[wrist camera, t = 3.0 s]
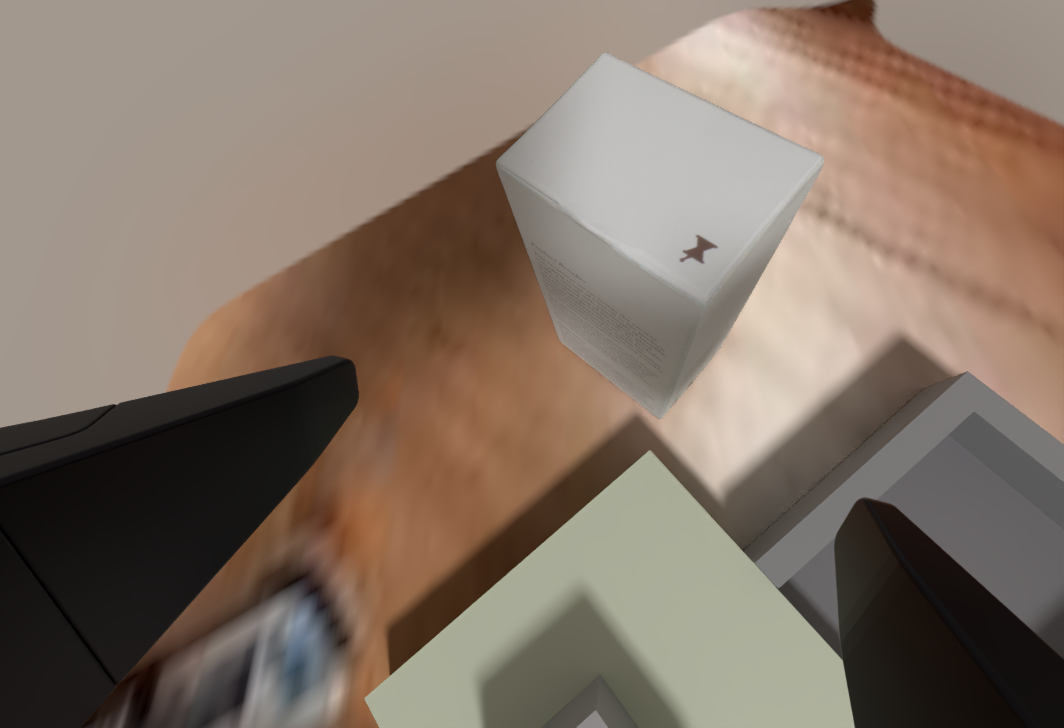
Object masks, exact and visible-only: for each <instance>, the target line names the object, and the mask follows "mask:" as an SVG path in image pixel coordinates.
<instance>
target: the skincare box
mask: <svg viewBox="0 0 1064 728" xmlns="http://www.w3.org/2000/svg"><path fill="white" fill-rule="evenodd" d="M823 164H824V157H823V156H822V155H821V154H818V153H816V152H814V151H812V150H810V149H808V148H806V147H803V146H801V145H799V144H797V143H794V142H792V141H790V140H788V139H785V138H783V137H781V136H779V135H777V134H775V133H773V132H771V131H769V130H767V129H765V128H763V127H761V126H758V125H756V124H754V123H752V122H750V121H748V120H745V119H743V118H741V117H739V116H737V115H735V114H733V113H731V112H729V111H727V110H725V109H723V108H721V107H718V106H716V105H714V104H712V103H710V102H708V101H706V100H704V99H702V98H700V97H698V96H696V95H693V94H691V93H689V92H687V91H685V90H683V89H681V88H679V87H677V86H674V85H672V84H670V83H668V82H666V81H664V80H662V79H660V78H658V77H655V76H653V75H651V74H649V73H647V72H645V71H643V70H641V69H639V68H637V67H635V66H633V65H631V64H628V63H626V62H624V61H622V60H620V59H618V58H616V57H614V56H613V55H611V54H609V53H602V55H600V56H599V57H598V59H597V60H596V61H595V62H594V63H593V64H592V65H591V66H590V67H589V68H588V69H587V70H586V71H585V72H584V73H583V74H582V75H581V76H580V77H579V79H577V81H576V82H575V83H574V84H573V85H572V86H571V87H570V88H569V89H568V90H567V91H566V92H565V93H564V94H563V95H562V96H561V97H560V98H559V100H557V101H556V102H555V103H554V104H553V105H552V106H551V107H550V108H549V109H548V110H547V111H546V112H545V113H544V114H543V115H542V116H541V117H540V118H539V119H538V120H537V121H536V122H535V123H534V124H533V125H532V126H531V127H530V128H529V129H528V130H527V131H526V132H525V133H524V134H523V135H522V136H521V137H520V138H519V139H518V140H517V141H516V142H515V143H514V144H513V145H512V146H511V147H510V148H509V149H508V150H507V151H506V152H505V153H504V154H503V155H502V156H500V157H499V158H498V160H497V161H496V168H497V171H498V174H499V177H500V180H501V182H502V185H503V187H504V190H505V192H506V195H507V199H508V201H509V204H510V206H511V209H512V212H513V215H514V218H515V220H516V223H517V226H518V228H519V231H520V234H521V237H522V239H523V242H524V245H525V247H526V250H527V253H528V255H529V258H530V261H531V264H532V267H533V270H534V272H535V275H536V278H537V281H538V283H539V286H540V289H541V291H542V294H543V297H544V300H545V302H546V305H547V308H548V310H549V313H550V316H551V319H552V321H553V324H554V327H555V330H556V333H557V335H558V338H559V340H560V342H561V343H563V344H564V345H565V346H566V347H568V348H569V349H570V350H571V351H573V352H574V353H575V354H576V355H578V356H579V357H580V358H582V359H583V360H584V361H585V362H587V363H588V364H589V365H590V366H592V367H593V368H594V369H596V370H597V371H598V372H599V373H601V374H602V375H603V376H604V377H606V378H607V379H608V380H609V381H611V382H612V383H613V384H614V385H616V386H617V387H618V388H619V389H621V390H622V391H623V392H625V393H626V394H627V395H628V396H630V397H631V398H632V399H634V400H635V401H636V402H637V403H639V404H640V405H641V406H642V407H644V408H645V409H646V410H648V411H649V412H650V413H651V414H653V415H654V416H655V417H656V418H658V419H661V418H662V417H663V416H664V415H665V414H666V413H667V411H668V410H669V409H670V408H671V407H672V406H673V404H674V403H675V402H676V401H677V400H678V399H679V398H680V396H681V395H682V394H683V393H684V392H685V391H686V389H687V388H688V387H689V386H690V385H691V383H692V382H693V381H694V380H695V379H696V377H697V376H698V375H699V374H700V373H701V371H702V370H703V369H704V368H705V366H706V365H707V364H708V363H709V361H710V360H711V359H712V358H713V357H714V355H715V354H716V353H717V352H718V350H719V349H720V347H721V345H722V344H723V342H724V340H725V338H726V337H727V335H728V333H729V332H730V330H731V328H732V326H733V325H734V323H735V321H736V319H737V317H738V316H739V314H740V312H741V310H742V309H743V307H744V305H745V303H746V302H747V300H748V298H749V296H750V295H751V293H752V291H753V289H754V288H755V286H756V284H757V282H758V280H759V279H760V277H761V275H762V273H763V272H764V270H765V268H766V266H767V264H768V263H769V261H770V259H771V258H772V256H773V254H774V252H775V251H776V249H777V247H778V245H779V244H780V242H781V240H782V238H783V236H784V235H785V233H786V231H787V230H788V228H789V226H790V224H791V222H792V220H793V218H794V216H795V215H796V213H797V211H798V209H799V208H800V206H801V204H802V203H803V201H804V199H805V198H806V196H807V194H808V192H809V191H810V189H811V187H812V186H813V184H814V182H815V180H816V178H817V176H818V174H819V173H820V171H821V169H822V167H823Z"/></svg>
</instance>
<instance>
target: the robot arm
mask: <svg viewBox="0 0 1064 728" xmlns="http://www.w3.org/2000/svg"><path fill="white" fill-rule="evenodd" d="M358 399H359V390H358V383H357V376H356V369H355V365H354V363H353V362H352V361H351V360H349V359H346V358H342V357H338V356H327V357H323V358H318V359H314V360H309V361H305V362H301V363H296V364H292V365H287V366H283V367H278V368H274V369H269V370H265V371H260V372H256V373H251V374H247V375H242V376H238V377H233V378H229V379H224V380H220V381H216V382H211V383H207V384H202V385H198V386H193V387H189V388H184V389H180V390H175V391H171V392H166V393H162V394H157V395H153V396H148V397H144V398H140V399H135V400H130V401H126V402H122V403H119V404H118V405H115V404H112V405H108V406H103V407H99V408H94V409H90V410H85V411H81V412H76V413H71V414H67V415H62V416H58V417H52V418H48V419H43V420H38V421H33V422H27V423H22V424H17V425H12V426H7V427H2V428H0V728H81V727H82V726H83V724H84V723H85V722H86V721H87V720H88V719H89V718H90V717H91V715H92V714H93V713H94V712H95V711H96V710H97V709H98V708H99V706H100V705H101V704H102V703H103V702H104V701H105V700H106V699H107V697H108V696H109V695H110V694H111V693H112V692H113V691H114V689H115V688H116V684H119V683H120V682H121V681H122V680H123V679H124V678H125V677H126V675H127V674H128V673H129V672H130V671H131V670H132V669H133V668H134V666H135V665H136V664H137V663H138V662H139V661H140V660H141V659H142V657H143V656H144V655H145V654H146V653H147V652H148V651H149V650H150V648H151V647H152V646H153V645H154V644H155V643H156V642H157V641H158V639H159V638H160V637H161V636H162V635H163V634H164V633H165V631H166V630H167V629H168V628H169V627H170V626H171V625H172V624H173V622H174V621H175V620H176V619H177V618H178V617H179V616H180V615H181V613H182V612H183V611H184V610H185V609H186V608H187V607H188V606H189V604H190V603H191V602H192V601H193V600H194V599H195V598H196V597H197V595H198V594H199V593H200V592H201V591H202V590H203V589H204V588H205V586H206V585H207V584H208V583H209V582H210V581H211V580H212V579H213V577H214V576H215V575H216V574H217V573H218V572H219V571H220V570H221V568H222V567H223V566H224V565H225V564H226V563H227V562H228V560H229V559H230V558H231V557H232V556H233V555H234V554H235V553H236V551H237V550H238V549H239V548H240V547H241V546H242V545H243V544H244V542H245V541H246V540H247V539H248V538H249V537H250V536H251V535H252V533H253V532H254V531H255V530H256V529H257V528H258V527H259V526H260V524H261V523H262V522H263V521H264V520H265V519H266V518H267V517H268V515H269V514H270V513H271V512H272V511H273V510H274V509H275V508H276V506H277V505H278V504H279V503H280V502H281V501H282V500H283V499H284V497H285V496H286V495H287V494H288V493H289V492H290V491H291V489H292V488H293V487H294V486H295V485H296V484H297V483H298V482H299V480H300V479H301V478H302V477H303V476H304V475H305V474H306V472H307V471H308V470H309V469H310V468H311V467H312V465H313V464H314V463H315V462H316V460H317V459H318V458H319V456H320V455H321V454H322V452H323V451H324V450H325V448H326V447H327V445H328V444H329V443H330V441H331V440H332V438H333V437H334V436H335V434H336V433H337V432H338V430H339V429H340V427H341V426H342V425H343V423H344V422H345V421H346V419H347V418H348V416H349V415H350V414H351V412H352V411H353V410H354V408H355V407H356V405H357V403H358ZM834 557H835V574H836V591H837V608H838V625H839V637H840V647H841V653H842V660H843V666H844V671H845V677H846V682H847V688H848V693H849V699H850V704H851V710H852V715H853V721H854V726H855V728H1064V658H1062V657H1061V656H1060V655H1059V654H1058V653H1057V652H1056V651H1055V650H1054V649H1053V648H1051V647H1050V646H1049V645H1048V644H1047V643H1046V642H1045V641H1044V640H1043V639H1041V638H1040V637H1039V636H1038V635H1037V634H1036V633H1035V632H1034V631H1033V630H1032V629H1030V628H1029V627H1028V626H1027V625H1026V624H1025V623H1024V622H1023V621H1022V620H1020V619H1019V618H1018V617H1017V616H1016V615H1015V614H1014V613H1013V612H1012V611H1011V610H1009V609H1008V608H1007V607H1006V606H1005V605H1004V604H1003V603H1002V602H1001V601H999V600H998V599H997V598H996V597H995V596H994V595H993V594H992V593H991V592H990V591H988V590H987V589H986V588H985V587H984V586H983V585H982V584H981V583H980V582H978V581H977V580H976V579H975V578H974V577H973V576H972V575H971V574H970V573H969V572H967V571H966V570H965V569H964V568H963V567H962V566H961V565H960V564H959V563H958V562H956V561H955V560H954V559H953V558H952V557H951V556H950V555H949V554H948V553H946V552H945V551H944V550H943V549H942V548H941V547H940V546H939V545H938V544H937V543H935V542H934V541H933V540H932V539H931V538H930V537H929V536H928V535H927V534H925V533H924V532H923V531H922V530H921V529H920V528H919V527H918V526H917V525H916V524H914V523H913V522H912V521H911V520H910V519H909V518H908V517H907V516H906V515H904V514H903V513H902V512H901V511H900V510H899V509H898V508H897V507H895V506H894V505H892V504H890V503H886V502H883V501H879V500H875V499H871V498H867V497H862V498H859V499H858V500H857V501H856V502H855V503H854V505H853V506H852V508H851V510H850V511H849V513H848V515H847V517H846V518H845V520H844V522H843V523H842V525H841V527H840V528H839V530H838V532H837V534H836V537H835V541H834Z"/></svg>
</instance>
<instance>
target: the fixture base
mask: <svg viewBox="0 0 1064 728" xmlns="http://www.w3.org/2000/svg"><path fill="white" fill-rule="evenodd" d="M862 497H867V498H871V499H875V500H879V501H883V502H886V503H890V504H892V505H894V506H895V507H897V508H898V509H899V510H900V511H901V512H902V513H903V514H904V515H906V516H907V517H908V518H909V519H910V520H911V521H912V522H913V523H914V524H916V525H917V526H918V527H919V528H920V529H921V530H922V531H923V532H924V533H925V534H927V535H928V536H929V537H930V538H931V539H932V540H933V541H934V542H935V543H937V544H938V545H939V546H940V547H941V548H942V549H943V550H944V551H945V552H946V553H948V554H949V555H950V556H951V557H952V558H953V559H954V560H955V561H956V562H958V563H959V564H960V565H961V566H962V567H963V568H964V569H965V570H966V571H967V572H969V573H970V574H971V575H972V576H973V577H974V578H975V579H976V580H977V581H978V582H980V583H981V584H982V585H983V586H984V587H985V588H986V589H987V590H988V591H990V592H991V593H992V594H993V595H994V596H995V597H996V598H997V599H998V600H999V601H1001V602H1002V603H1003V604H1004V605H1005V606H1006V607H1007V608H1008V609H1009V610H1011V611H1012V612H1013V613H1014V614H1015V615H1016V616H1017V617H1018V618H1019V619H1020V620H1022V621H1023V622H1024V623H1025V624H1026V625H1027V626H1028V627H1029V628H1030V629H1032V630H1033V631H1034V632H1035V633H1036V634H1037V635H1038V636H1039V637H1040V638H1041V639H1043V640H1044V641H1045V642H1046V643H1047V644H1048V645H1049V646H1050V647H1051V648H1053V649H1054V650H1055V651H1056V652H1057V653H1058V654H1059V655H1060V656H1061V657H1062V658H1064V444H1062V443H1061V442H1060V441H1058V440H1057V439H1056V438H1054V437H1053V436H1052V435H1051V434H1049V433H1048V432H1047V431H1045V430H1044V429H1043V428H1041V427H1040V426H1039V425H1037V424H1036V423H1035V422H1033V421H1032V420H1031V419H1030V418H1028V417H1027V416H1026V415H1024V414H1023V413H1022V412H1020V411H1019V410H1018V409H1016V408H1015V407H1014V406H1012V405H1011V404H1010V403H1009V402H1007V401H1006V400H1005V399H1003V398H1002V397H1001V396H999V395H998V394H997V393H995V392H994V391H993V390H992V389H990V388H989V387H988V386H986V385H985V384H984V383H982V382H981V381H980V380H978V379H977V378H976V377H974V376H973V375H972V374H971V373H969V372H968V371H967V372H964V373H962V374H959V375H957V376H954V377H952V378H949V379H947V380H944V381H942V382H939V383H937V384H934V385H931V386H929V387H926V388H924V389H923V390H922V391H921V392H919V393H918V394H917V395H916V396H915V397H914V398H913V399H912V400H910V401H909V402H908V403H907V404H906V405H905V406H904V407H903V408H902V409H900V410H899V411H898V412H897V413H896V414H895V415H894V416H893V417H892V418H890V419H889V420H888V421H887V422H886V423H885V424H884V425H883V426H882V427H880V428H879V429H878V430H877V431H876V432H875V433H874V434H873V435H872V436H870V437H869V438H868V439H867V440H866V441H865V442H864V443H863V444H861V445H860V446H859V447H858V448H857V449H856V450H855V451H854V452H853V453H851V454H850V455H849V456H848V457H847V458H846V459H845V460H844V461H843V462H841V463H840V464H839V465H838V466H837V467H836V468H835V469H834V470H833V471H831V472H830V473H829V474H828V475H827V476H826V477H825V478H824V479H822V480H821V481H820V482H819V483H818V484H817V485H816V486H815V487H814V488H812V489H811V490H810V491H809V492H808V493H807V494H806V495H805V496H804V497H802V498H801V499H800V500H799V501H798V502H797V503H796V504H795V505H794V506H792V507H791V508H790V509H789V510H788V511H787V512H786V513H785V514H783V515H782V516H781V517H780V518H779V519H778V520H777V521H776V522H775V523H773V524H772V525H771V526H770V527H769V528H768V529H767V530H766V531H765V532H763V533H762V534H761V535H760V536H759V537H758V538H757V539H756V540H755V541H753V542H752V543H751V544H750V545H749V546H748V547H747V548H746V549H745V550H743V551H742V550H741V549H740V548H739V547H738V546H737V544H736V543H735V542H734V541H733V540H732V539H731V538H730V537H729V536H728V535H727V534H726V532H725V531H724V530H723V529H722V528H721V527H720V526H719V525H718V524H717V523H716V521H715V520H714V519H713V518H712V517H711V516H710V515H709V514H708V513H707V512H706V511H705V509H704V508H703V507H702V506H701V505H700V504H699V503H698V502H697V501H696V500H695V499H694V497H693V496H692V495H691V494H690V493H689V492H688V491H687V490H686V489H685V488H684V487H683V485H682V484H681V483H680V482H679V481H678V480H677V479H676V478H675V477H674V476H673V475H672V473H671V472H670V471H669V470H668V469H667V468H666V467H665V466H664V465H663V464H662V462H661V461H660V460H659V459H658V458H657V457H656V456H655V455H654V454H653V453H652V452H651V450H649V451H648V452H647V453H646V454H645V455H643V456H642V457H641V458H640V459H639V460H638V461H637V462H635V463H634V464H633V465H632V466H631V467H630V468H628V469H627V470H626V471H625V472H624V473H623V474H622V475H620V476H619V477H618V478H617V479H616V480H615V481H614V482H612V483H611V484H610V485H609V486H608V487H607V488H606V489H604V490H603V491H602V492H601V493H600V494H599V495H597V496H596V497H595V498H594V499H593V500H592V501H591V502H589V503H588V504H587V505H586V506H585V507H584V508H583V509H581V510H580V511H579V512H578V513H577V514H576V515H574V516H573V517H572V518H571V519H570V520H569V521H568V522H566V523H565V524H564V525H563V526H562V527H561V528H560V529H558V530H557V531H556V532H555V533H554V534H553V535H552V536H550V537H549V538H548V539H547V540H546V541H545V542H543V543H542V544H541V545H540V546H539V547H538V548H537V549H535V550H534V551H533V552H532V553H531V554H530V555H529V556H527V557H526V558H525V559H524V560H523V561H522V562H520V563H519V564H518V565H517V566H516V567H515V568H514V569H512V570H511V571H510V572H509V573H508V574H507V575H506V576H504V577H503V578H502V579H501V580H500V581H499V582H497V583H496V584H495V585H494V586H493V587H492V588H491V589H489V590H488V591H487V592H486V593H485V594H484V595H483V596H481V597H480V598H479V599H478V600H477V601H476V602H475V603H473V604H472V605H471V606H470V607H469V608H468V609H466V610H465V611H464V612H463V613H462V614H461V615H460V616H458V617H457V618H456V619H455V620H454V621H453V622H452V623H450V624H449V625H448V626H447V627H446V628H445V629H443V630H442V631H441V632H440V633H439V634H438V635H437V636H435V637H434V638H433V639H432V640H431V641H430V642H429V643H427V644H426V645H425V646H424V647H423V648H422V649H421V650H419V651H418V652H417V653H416V654H415V655H414V656H412V657H411V658H410V659H409V660H408V661H407V662H406V663H404V664H403V665H402V666H401V667H400V668H399V669H398V670H396V671H395V672H394V673H393V674H392V675H391V676H389V677H388V678H387V679H386V680H385V681H384V682H383V683H381V684H380V685H379V686H378V687H377V688H376V689H375V690H373V691H372V692H371V693H370V694H369V695H368V696H366V697H365V698H364V699H365V701H366V703H367V705H368V707H369V709H370V711H371V712H372V714H373V716H374V718H375V720H376V722H377V724H378V726H379V728H855V726H854V721H853V715H852V710H851V704H850V699H849V693H848V688H847V682H846V677H845V671H844V666H843V660H842V653H841V647H840V637H839V625H838V608H837V591H836V574H835V557H834V541H835V537H836V534H837V532H838V530H839V528H840V527H841V525H842V523H843V522H844V520H845V518H846V517H847V515H848V513H849V511H850V510H851V508H852V506H853V505H854V503H855V502H856V501H857V500H858V499H859V498H862Z"/></svg>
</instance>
